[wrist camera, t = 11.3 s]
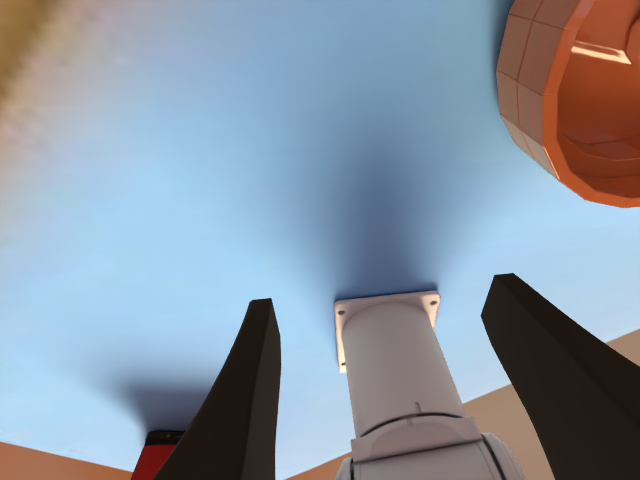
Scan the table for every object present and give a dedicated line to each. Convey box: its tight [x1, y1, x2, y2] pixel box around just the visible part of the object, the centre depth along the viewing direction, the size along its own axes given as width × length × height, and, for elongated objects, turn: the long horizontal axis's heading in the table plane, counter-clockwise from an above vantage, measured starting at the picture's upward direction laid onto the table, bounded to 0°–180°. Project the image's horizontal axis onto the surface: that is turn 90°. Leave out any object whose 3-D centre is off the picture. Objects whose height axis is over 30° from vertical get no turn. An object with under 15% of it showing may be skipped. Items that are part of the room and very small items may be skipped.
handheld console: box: [131, 431, 185, 480], centre depth 37 cm, size 12×11×7 cm
